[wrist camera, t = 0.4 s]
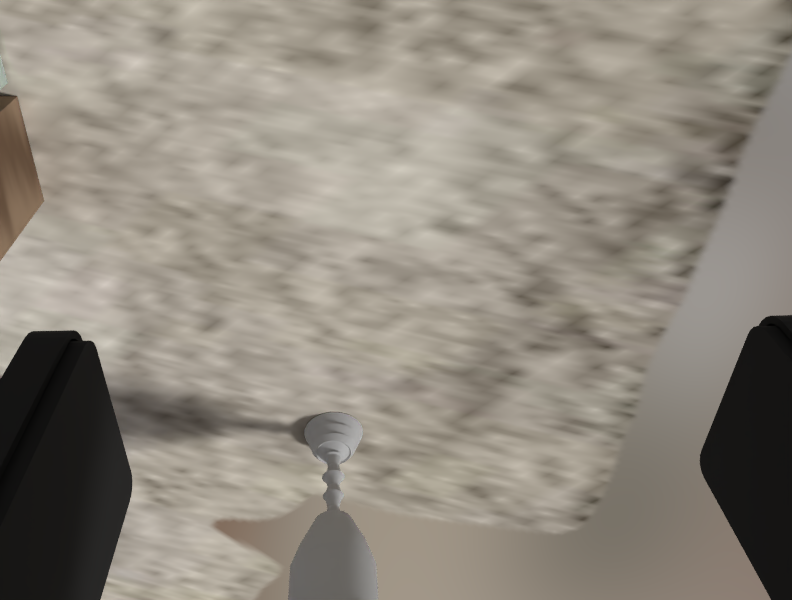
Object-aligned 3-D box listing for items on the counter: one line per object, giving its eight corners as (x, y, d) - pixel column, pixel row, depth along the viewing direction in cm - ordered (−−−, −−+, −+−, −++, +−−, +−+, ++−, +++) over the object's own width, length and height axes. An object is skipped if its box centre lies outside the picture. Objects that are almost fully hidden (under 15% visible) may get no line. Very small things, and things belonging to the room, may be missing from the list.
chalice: (312, 469, 63) (305, 671, 48) (277, 421, 59) (257, 625, 45) (387, 444, 62) (403, 644, 47) (356, 393, 58) (363, 593, 43)
